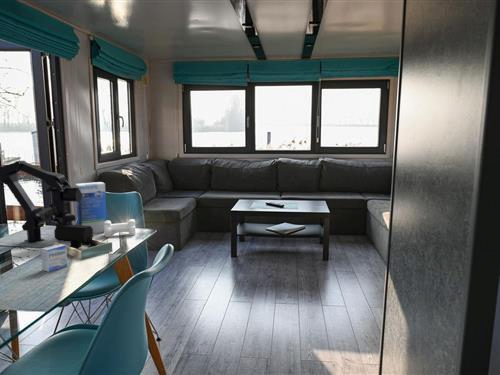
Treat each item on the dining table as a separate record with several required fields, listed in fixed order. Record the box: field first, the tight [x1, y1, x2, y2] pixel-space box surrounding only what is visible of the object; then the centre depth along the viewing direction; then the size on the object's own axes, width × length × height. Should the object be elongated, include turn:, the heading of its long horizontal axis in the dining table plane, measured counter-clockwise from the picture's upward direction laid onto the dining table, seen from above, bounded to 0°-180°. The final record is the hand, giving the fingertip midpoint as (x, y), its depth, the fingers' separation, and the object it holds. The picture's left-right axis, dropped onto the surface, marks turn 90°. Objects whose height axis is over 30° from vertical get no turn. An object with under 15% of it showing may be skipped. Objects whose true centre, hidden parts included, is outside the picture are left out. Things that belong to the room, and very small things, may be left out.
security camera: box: [54, 223, 97, 249], centre depth 175 cm, size 7×18×10 cm, turn 78°
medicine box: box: [40, 243, 68, 273], centre depth 149 cm, size 8×4×9 cm, turn 148°
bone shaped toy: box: [103, 218, 136, 238], centre depth 196 cm, size 15×9×8 cm, turn 108°
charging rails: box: [52, 237, 113, 260], centre depth 172 cm, size 24×14×4 cm, turn 53°
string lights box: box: [75, 181, 108, 235], centre depth 199 cm, size 13×8×26 cm, turn 124°
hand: (60, 233), depth 183 cm, fingers closed
